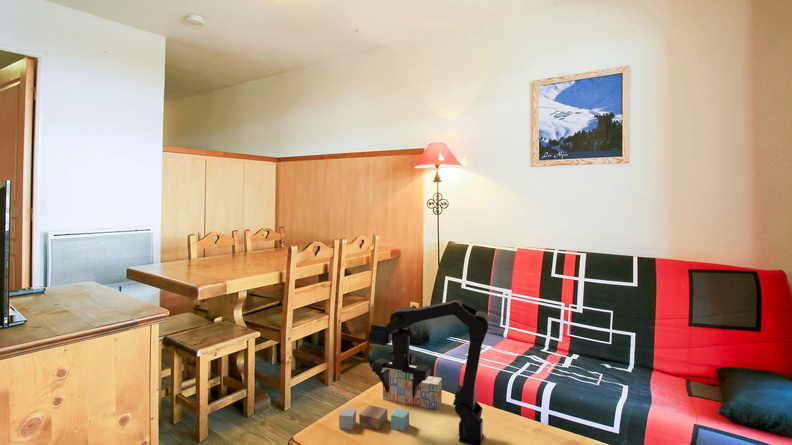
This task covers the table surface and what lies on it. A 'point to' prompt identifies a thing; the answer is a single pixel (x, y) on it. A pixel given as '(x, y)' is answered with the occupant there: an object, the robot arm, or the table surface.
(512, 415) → the table surface
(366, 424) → the walnut block
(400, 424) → the teal cube
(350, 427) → the light grey cube
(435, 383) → the stack of blocks
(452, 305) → the robot arm
